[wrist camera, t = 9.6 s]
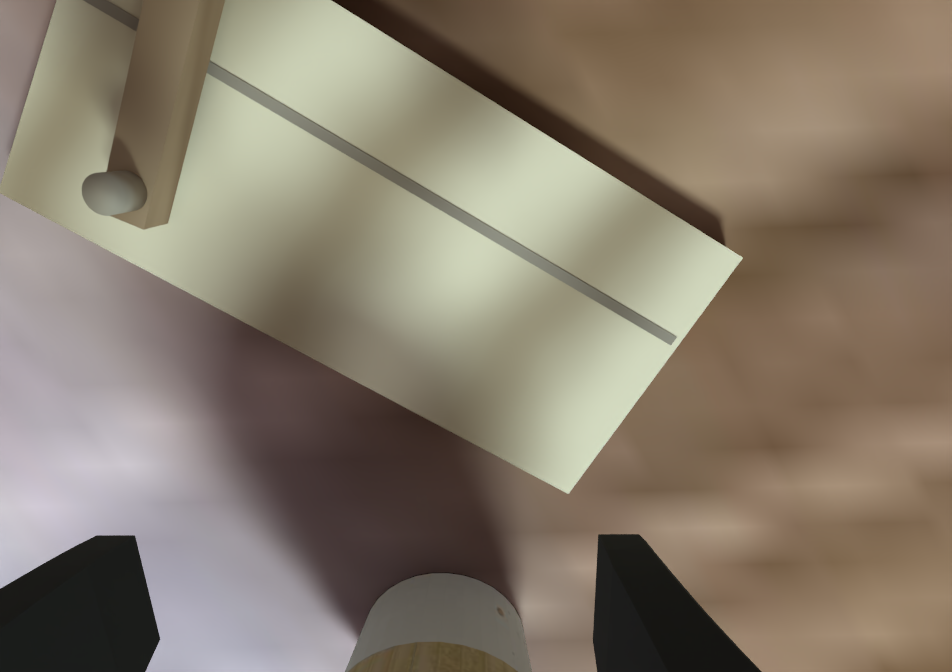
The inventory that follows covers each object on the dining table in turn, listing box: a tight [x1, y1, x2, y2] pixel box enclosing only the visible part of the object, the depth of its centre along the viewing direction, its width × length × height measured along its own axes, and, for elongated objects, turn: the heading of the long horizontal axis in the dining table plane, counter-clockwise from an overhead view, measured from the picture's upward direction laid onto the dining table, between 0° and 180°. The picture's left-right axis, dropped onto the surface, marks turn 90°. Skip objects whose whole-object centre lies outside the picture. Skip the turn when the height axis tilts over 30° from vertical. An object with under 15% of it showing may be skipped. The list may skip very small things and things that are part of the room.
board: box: [0, 0, 742, 494], centre depth 17 cm, size 19×9×1 cm, turn 60°
